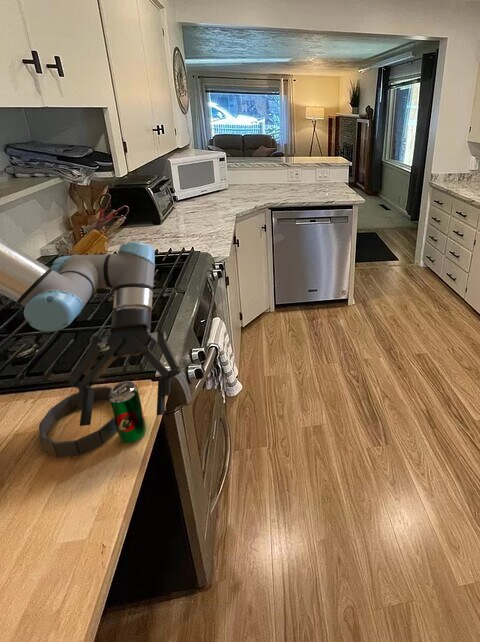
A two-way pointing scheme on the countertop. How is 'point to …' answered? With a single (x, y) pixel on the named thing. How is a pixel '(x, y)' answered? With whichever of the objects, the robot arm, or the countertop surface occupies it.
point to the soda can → (127, 412)
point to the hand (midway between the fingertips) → (123, 420)
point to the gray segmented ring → (83, 443)
